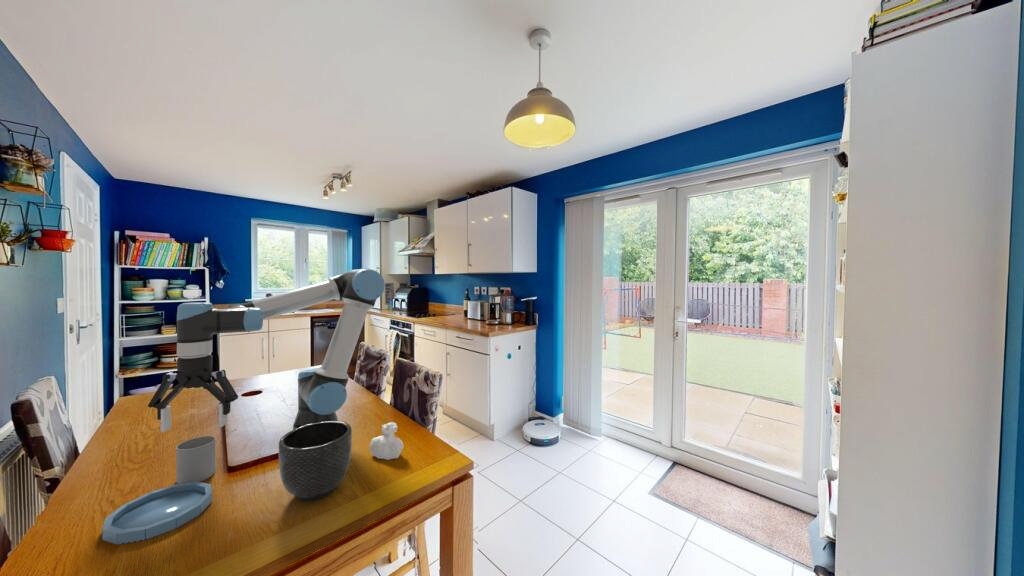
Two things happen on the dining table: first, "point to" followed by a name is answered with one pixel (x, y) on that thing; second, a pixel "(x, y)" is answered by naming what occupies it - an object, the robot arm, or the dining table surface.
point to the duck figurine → (387, 443)
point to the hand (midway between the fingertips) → (194, 427)
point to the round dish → (157, 512)
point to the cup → (195, 459)
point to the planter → (315, 458)
